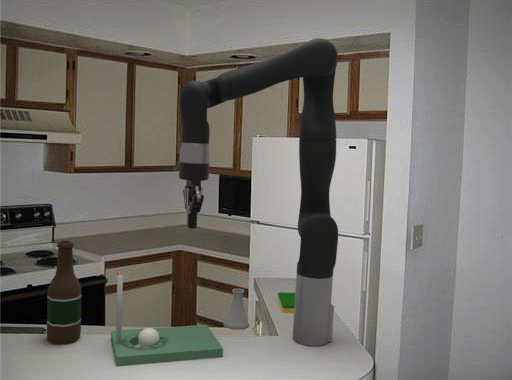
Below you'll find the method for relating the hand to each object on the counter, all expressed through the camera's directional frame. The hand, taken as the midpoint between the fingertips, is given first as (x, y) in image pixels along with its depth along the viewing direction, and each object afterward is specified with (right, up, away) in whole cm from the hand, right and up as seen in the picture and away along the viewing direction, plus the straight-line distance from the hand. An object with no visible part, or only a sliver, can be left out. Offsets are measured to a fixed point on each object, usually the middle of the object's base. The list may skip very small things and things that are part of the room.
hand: (191, 227), depth 145 cm
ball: (-9, -25, -12) cm, 30 cm away
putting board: (-5, -28, -11) cm, 30 cm away
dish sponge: (+27, -26, +27) cm, 46 cm away
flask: (+11, -27, +6) cm, 30 cm away
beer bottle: (-30, -27, -9) cm, 41 cm away
